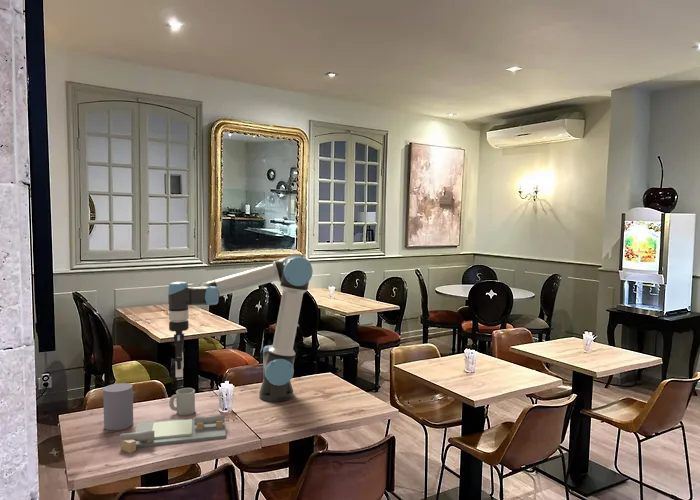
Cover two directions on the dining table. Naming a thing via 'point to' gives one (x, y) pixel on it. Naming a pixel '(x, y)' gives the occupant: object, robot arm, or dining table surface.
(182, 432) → the shaft rig
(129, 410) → the container
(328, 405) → the dining table surface
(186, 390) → the cup
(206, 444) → the dining table surface
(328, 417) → the dining table surface
